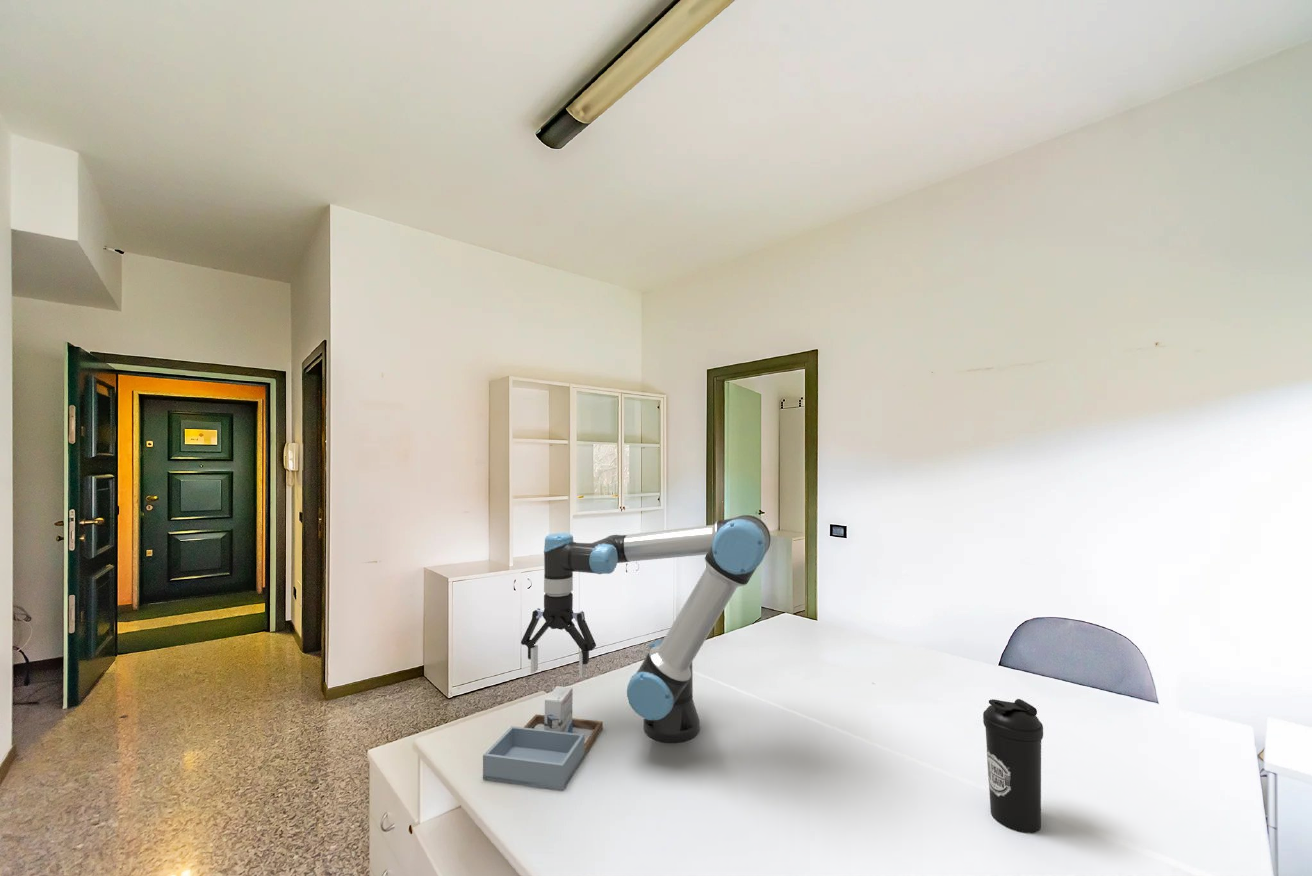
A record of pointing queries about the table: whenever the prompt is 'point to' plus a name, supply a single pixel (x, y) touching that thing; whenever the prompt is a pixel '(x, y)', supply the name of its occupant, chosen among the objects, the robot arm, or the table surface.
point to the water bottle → (1014, 764)
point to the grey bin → (534, 758)
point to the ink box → (559, 710)
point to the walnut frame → (575, 723)
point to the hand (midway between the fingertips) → (558, 674)
